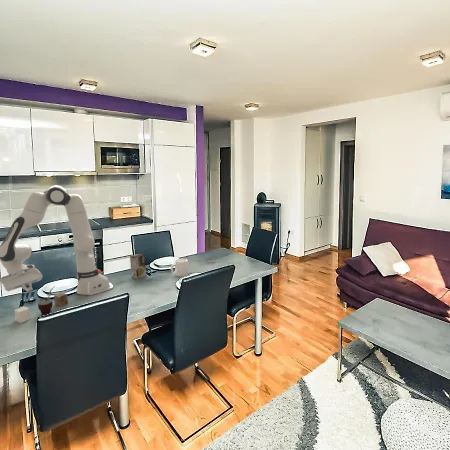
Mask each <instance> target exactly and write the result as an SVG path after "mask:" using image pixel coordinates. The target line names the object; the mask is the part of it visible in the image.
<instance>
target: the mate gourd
mask: <svg viewBox="0 0 450 450" xmlns="http://www.w3.org/2000/svg"><path fill="white" fill-rule="evenodd" d="M55 287H56V286H55V285H54V286H53V287H52V288H51V289H50V290H49V293H48V296H47V297H46V298H42V299H40V300H39V301H38V303H37V306H38V307H37V308H38V310H39V311H40V314H41V315H40V316H41V317H42V315H43V316H45V315H50V314H49V313H51V312H52V309H53V300H52V299H51V298H50V296H51V293H52V290H53V289H54V288H55Z"/></svg>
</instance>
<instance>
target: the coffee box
mask: <svg viewBox="0 0 450 450" xmlns="http://www.w3.org/2000/svg"><path fill="white" fill-rule="evenodd" d="M129 260H130V261H129V262H130V273H131V274H130V275H131V278H134V279H140V278H142V277H145V276H147V270H146V269H147V266H146V255H145V254H142V253H137V254H133V255H130V256H129Z"/></svg>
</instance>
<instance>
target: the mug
mask: <svg viewBox="0 0 450 450" xmlns="http://www.w3.org/2000/svg"><path fill="white" fill-rule="evenodd" d="M189 265H190V264H189V259H188V258H176V259H175V260H174V263H171V266H170V271H171V273H172V274H173V275H174V274H175V277H186V276H188V275H190V270H189Z"/></svg>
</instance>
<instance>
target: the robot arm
mask: <svg viewBox="0 0 450 450" xmlns="http://www.w3.org/2000/svg"><path fill="white" fill-rule="evenodd" d="M52 204H53V205H56V206H63V207H64V208H65V210H66V211H65V212H66V216H67V219H68V223H69V227H70V230H71V233H72V236H73V238H72V239H73V240H72V242H73V248H74V254H75V255H74V256H75V261H76V264H75V265H76V279H77V285H76V286H77V288H76V294H78V295H86V296H87V295H88V296H93V295H97V294H100V293H103V292H106V291H109V290H112V289H114V285H113V283H112V282H110V281H109V278H108V277H107V276H105V275H103V274H101V273H102V270H101V269H98V268H97V267H96V259H95V252H94V248H95V244H96V243H95V237H94V234H93V230H92V227H91V225H90V221H89V218H88V214H87V210H86V207H85V203H84V201H83V198H82V197H81V195H80V194H75V193H74V194H73V193H72V194H69V193H68V192H67V190H66V189H65V188H64V187H62V186H61V185H53V186H50V187H49V188H47V190H45V191H43V192H40V191H39V192H38V191H35V192H34V191H33V192H32V193H30V195H29V197H28V198H27V201H26V202H25V205H24V207H23V210H22V211H21V213H20V215H19V216H18V217H16V218H15V219H14V221H13V222H12V224H11V226H10V228H9V229H8V231H7V233H6V235H5V237H4V240H3V241H2V243H1V244H0V263H1V265H2V266H3V268H5V270H6V272H7V275H4V276H2V277H0V283H1V284H2V286H3V287H4V290H5V291H7V292H11V291H13V290H16V289H19V288H21V289H23V290H25V291H26V292H31V291H33V290H34V289H33V287H32V284H34V283H37V282H39V281H42V279H43V274H42V272H41V271H40V270H39V269H38V268H37V267H36V266H35V265H34V264H24V262H25V261H28V260H29V259H30V257H31V256H32V254H33V250H32V249H33V248H32V247H31V246H30V245H29V244H28V243H17V242H18V240H19V238H20V235H21V234H22V232H24V231H25V230H26V229H28V228H31V227H35V226H38V225H40V224H41V222H42V221H43V220H44V218H45V215H46V212H47V210H48V207H49V206H50V205H52Z"/></svg>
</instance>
